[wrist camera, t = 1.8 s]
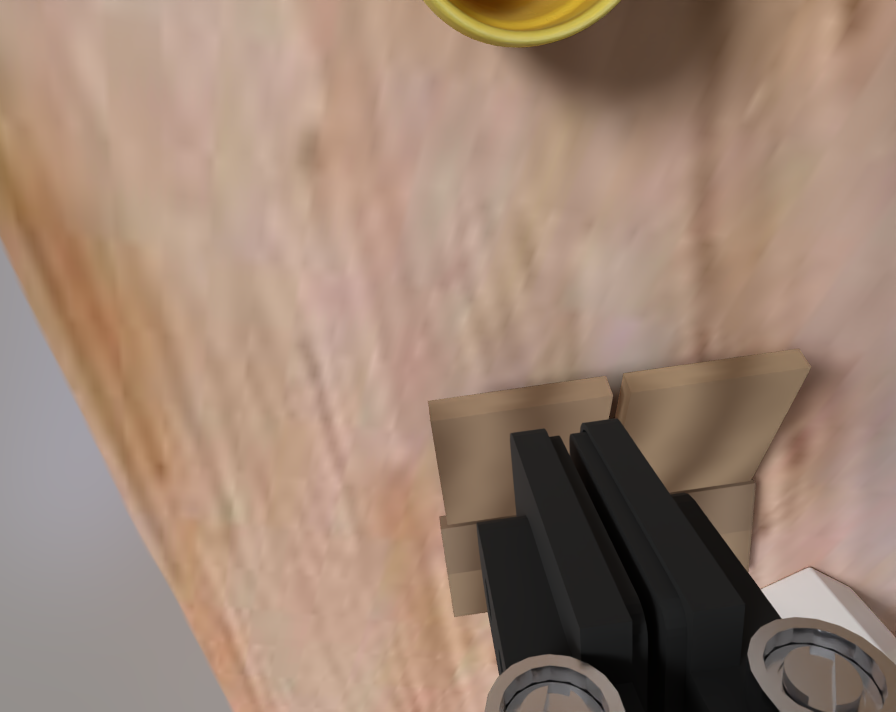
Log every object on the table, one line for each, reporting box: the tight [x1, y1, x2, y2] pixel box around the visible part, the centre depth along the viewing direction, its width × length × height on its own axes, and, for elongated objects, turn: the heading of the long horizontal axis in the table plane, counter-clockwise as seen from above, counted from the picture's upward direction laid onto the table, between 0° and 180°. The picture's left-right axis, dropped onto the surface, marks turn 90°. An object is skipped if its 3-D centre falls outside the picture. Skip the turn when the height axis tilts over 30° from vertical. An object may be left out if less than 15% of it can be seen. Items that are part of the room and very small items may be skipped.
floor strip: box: [440, 479, 756, 617], centre depth 46 cm, size 22×8×1 cm, turn 97°
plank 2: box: [615, 349, 811, 493], centre depth 40 cm, size 10×12×1 cm
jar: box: [760, 567, 896, 664], centre depth 46 cm, size 9×8×12 cm
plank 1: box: [428, 376, 613, 525], centre depth 40 cm, size 10×12×1 cm
